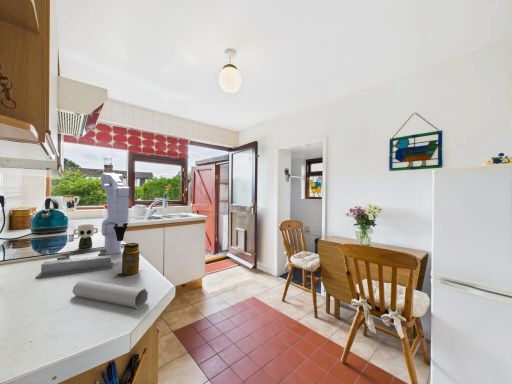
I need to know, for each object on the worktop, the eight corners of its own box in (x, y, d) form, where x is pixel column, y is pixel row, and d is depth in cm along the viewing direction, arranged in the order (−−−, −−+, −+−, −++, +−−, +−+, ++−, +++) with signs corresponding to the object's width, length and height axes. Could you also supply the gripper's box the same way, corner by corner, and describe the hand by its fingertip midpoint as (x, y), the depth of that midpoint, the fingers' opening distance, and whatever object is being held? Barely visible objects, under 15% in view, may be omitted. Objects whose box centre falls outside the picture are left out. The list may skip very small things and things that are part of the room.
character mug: (72, 250, 116) (72, 226, 116) (73, 247, 122) (74, 224, 122) (97, 248, 122) (97, 225, 122) (97, 245, 128) (98, 223, 128)
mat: (43, 271, 86) (43, 270, 86) (114, 263, 98) (114, 262, 98) (35, 278, 79) (35, 277, 79) (112, 268, 91) (112, 267, 91)
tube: (65, 286, 65) (132, 298, 59) (82, 275, 70) (146, 284, 64) (71, 300, 67) (136, 313, 61) (87, 288, 72) (149, 298, 66)
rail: (44, 271, 85) (45, 261, 85) (111, 263, 96) (111, 254, 96) (40, 274, 81) (41, 264, 81) (110, 266, 93) (110, 257, 93)
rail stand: (57, 263, 96) (57, 253, 96) (110, 257, 106) (111, 248, 106) (50, 269, 88) (51, 258, 88) (109, 262, 98) (109, 253, 98)
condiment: (143, 270, 90) (144, 242, 90) (131, 278, 82) (132, 247, 82) (126, 270, 90) (127, 241, 91) (112, 277, 82) (113, 246, 82)
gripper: (112, 210, 108) (111, 237, 107) (110, 212, 95) (109, 243, 95) (129, 210, 111) (128, 236, 111) (128, 212, 99) (127, 241, 99)
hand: (120, 239), depth 103 cm, fingers open, 7 cm apart
